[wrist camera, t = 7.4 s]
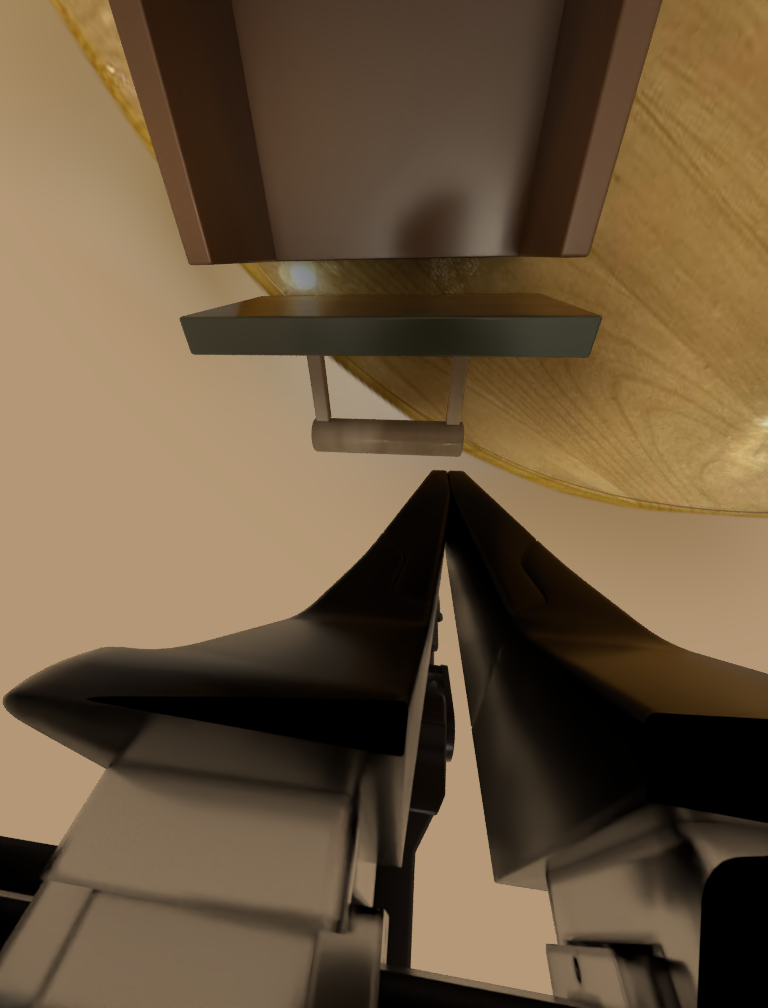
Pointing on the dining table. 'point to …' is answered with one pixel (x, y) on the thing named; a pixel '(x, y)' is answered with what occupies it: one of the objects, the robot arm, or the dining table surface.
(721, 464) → the dining table surface
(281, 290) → the dining table surface
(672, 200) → the dining table surface
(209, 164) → the drawer
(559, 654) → the robot arm
